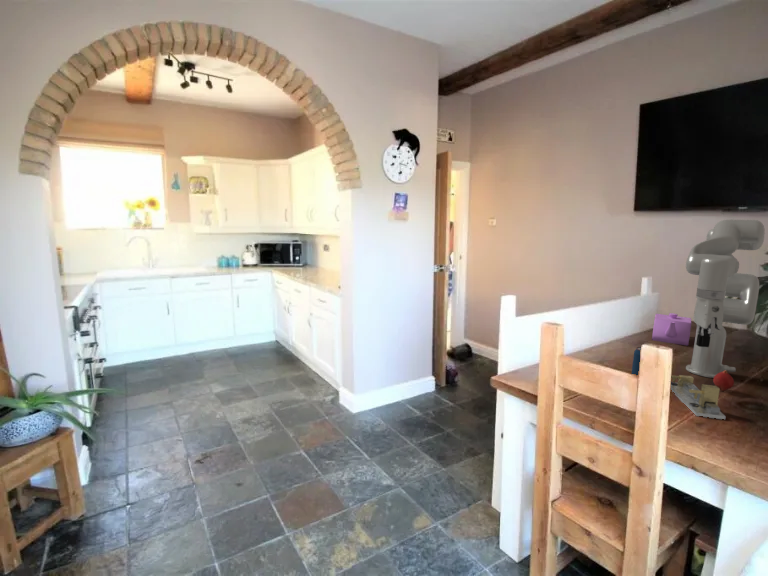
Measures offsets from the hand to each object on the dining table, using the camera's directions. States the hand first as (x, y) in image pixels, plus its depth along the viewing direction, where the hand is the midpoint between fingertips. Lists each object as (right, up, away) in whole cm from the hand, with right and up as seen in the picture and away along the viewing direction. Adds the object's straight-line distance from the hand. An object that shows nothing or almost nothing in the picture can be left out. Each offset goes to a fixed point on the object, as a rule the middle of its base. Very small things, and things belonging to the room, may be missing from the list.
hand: (702, 345), depth 141 cm
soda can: (-9, -16, +20) cm, 27 cm away
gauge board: (-3, -19, +1) cm, 19 cm away
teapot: (+38, -7, +70) cm, 80 cm away
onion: (+14, -18, +9) cm, 25 cm away
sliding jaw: (-5, -19, -6) cm, 20 cm away
